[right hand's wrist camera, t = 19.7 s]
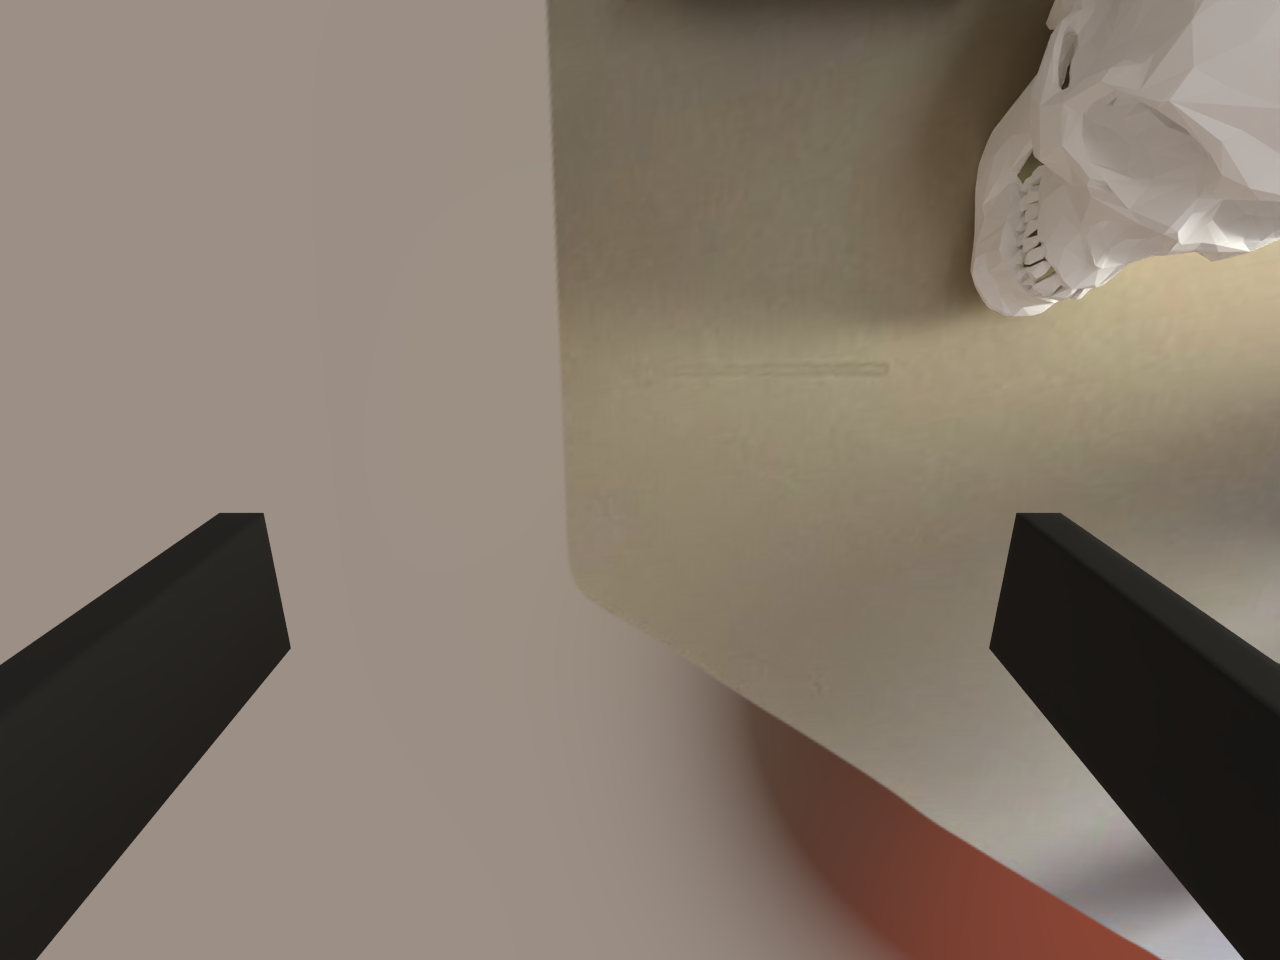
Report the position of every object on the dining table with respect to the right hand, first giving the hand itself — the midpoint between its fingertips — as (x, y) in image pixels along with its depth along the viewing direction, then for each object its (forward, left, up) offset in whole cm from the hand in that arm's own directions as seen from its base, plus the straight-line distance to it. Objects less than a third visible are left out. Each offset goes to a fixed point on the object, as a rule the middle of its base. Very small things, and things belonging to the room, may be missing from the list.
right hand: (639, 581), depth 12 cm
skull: (-22, +14, -29) cm, 39 cm away
